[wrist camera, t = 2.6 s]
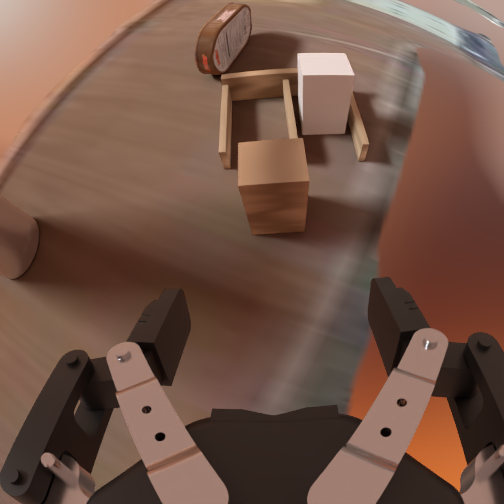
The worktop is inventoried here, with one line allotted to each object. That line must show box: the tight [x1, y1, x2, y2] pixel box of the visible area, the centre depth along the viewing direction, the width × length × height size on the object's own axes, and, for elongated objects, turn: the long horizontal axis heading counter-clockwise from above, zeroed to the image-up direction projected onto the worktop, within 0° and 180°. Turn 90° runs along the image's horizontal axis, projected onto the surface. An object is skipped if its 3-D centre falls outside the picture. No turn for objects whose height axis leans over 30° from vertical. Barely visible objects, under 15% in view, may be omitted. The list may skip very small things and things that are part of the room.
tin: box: [195, 3, 252, 75], centre depth 36 cm, size 15×3×8 cm, turn 159°
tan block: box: [238, 138, 309, 235], centre depth 26 cm, size 5×4×9 cm
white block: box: [297, 53, 355, 135], centre depth 30 cm, size 5×4×9 cm
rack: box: [219, 68, 369, 169], centre depth 32 cm, size 15×12×4 cm
